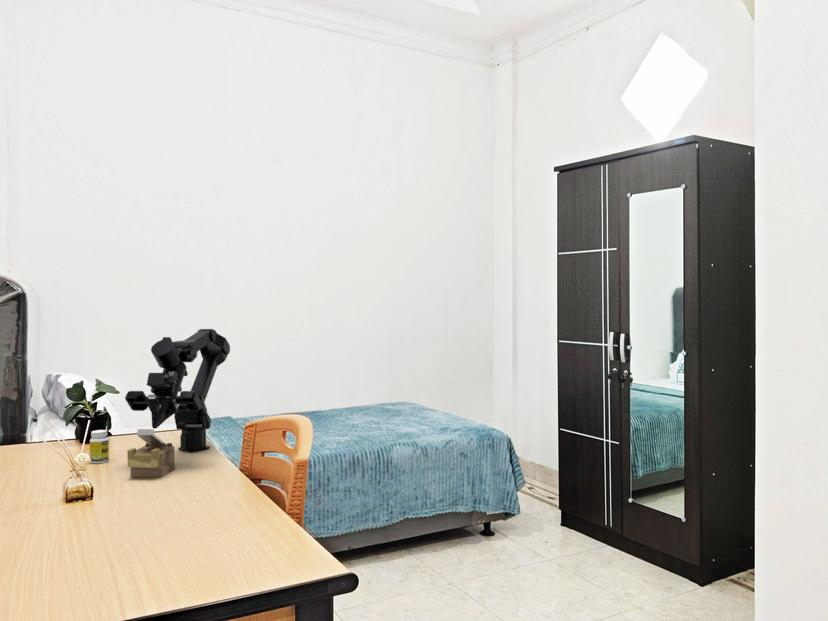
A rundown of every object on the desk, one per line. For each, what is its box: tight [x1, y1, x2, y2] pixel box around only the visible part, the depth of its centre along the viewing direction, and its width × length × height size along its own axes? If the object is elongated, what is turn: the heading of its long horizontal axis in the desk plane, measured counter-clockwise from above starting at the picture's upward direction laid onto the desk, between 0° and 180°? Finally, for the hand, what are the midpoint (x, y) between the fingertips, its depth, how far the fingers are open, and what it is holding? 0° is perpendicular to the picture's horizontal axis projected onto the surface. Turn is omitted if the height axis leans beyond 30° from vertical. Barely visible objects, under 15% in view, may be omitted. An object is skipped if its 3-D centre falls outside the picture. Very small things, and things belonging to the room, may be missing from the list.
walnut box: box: [126, 442, 176, 478], centre depth 174 cm, size 10×8×7 cm
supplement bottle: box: [89, 429, 110, 464], centre depth 188 cm, size 5×5×8 cm
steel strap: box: [136, 428, 168, 446], centre depth 175 cm, size 10×4×2 cm, turn 177°
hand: (154, 427), depth 176 cm, fingers closed
